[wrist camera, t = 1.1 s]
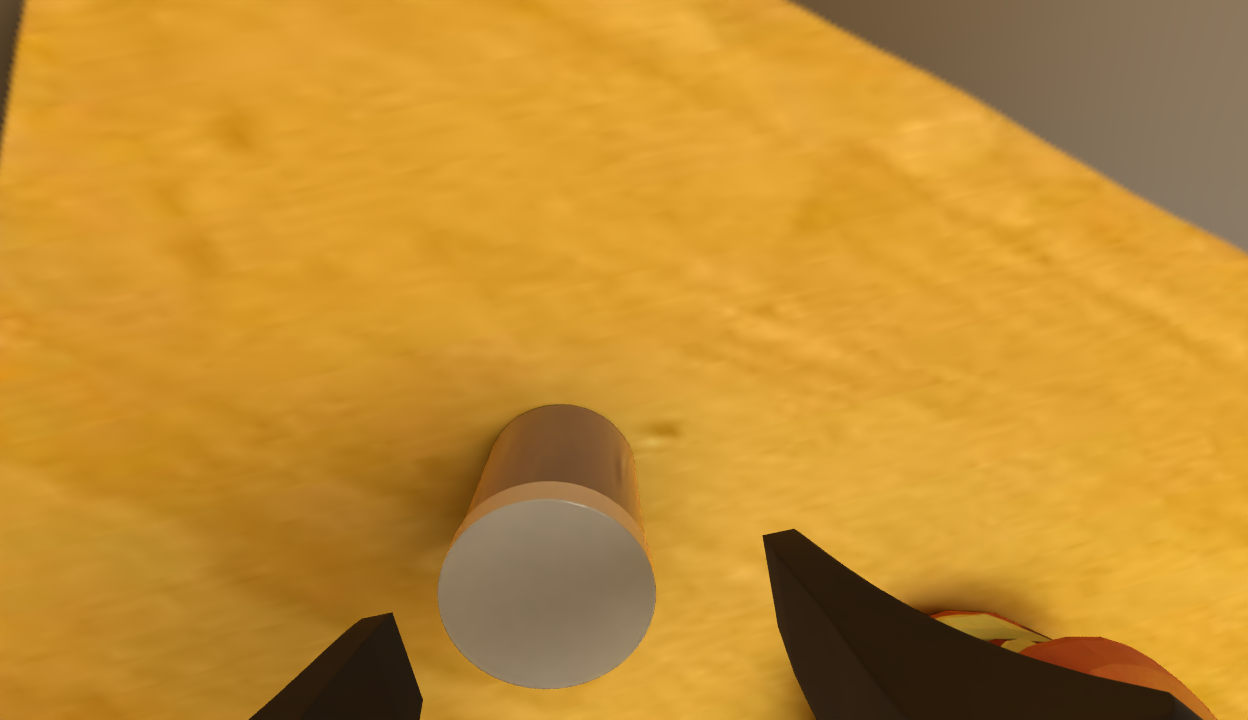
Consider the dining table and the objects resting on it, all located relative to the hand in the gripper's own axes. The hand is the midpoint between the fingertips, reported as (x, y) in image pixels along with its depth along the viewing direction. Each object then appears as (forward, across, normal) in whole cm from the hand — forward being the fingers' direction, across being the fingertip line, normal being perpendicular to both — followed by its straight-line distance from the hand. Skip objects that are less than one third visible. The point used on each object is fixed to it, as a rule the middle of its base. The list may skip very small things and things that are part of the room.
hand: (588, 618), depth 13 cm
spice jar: (+10, +1, +1) cm, 10 cm away
